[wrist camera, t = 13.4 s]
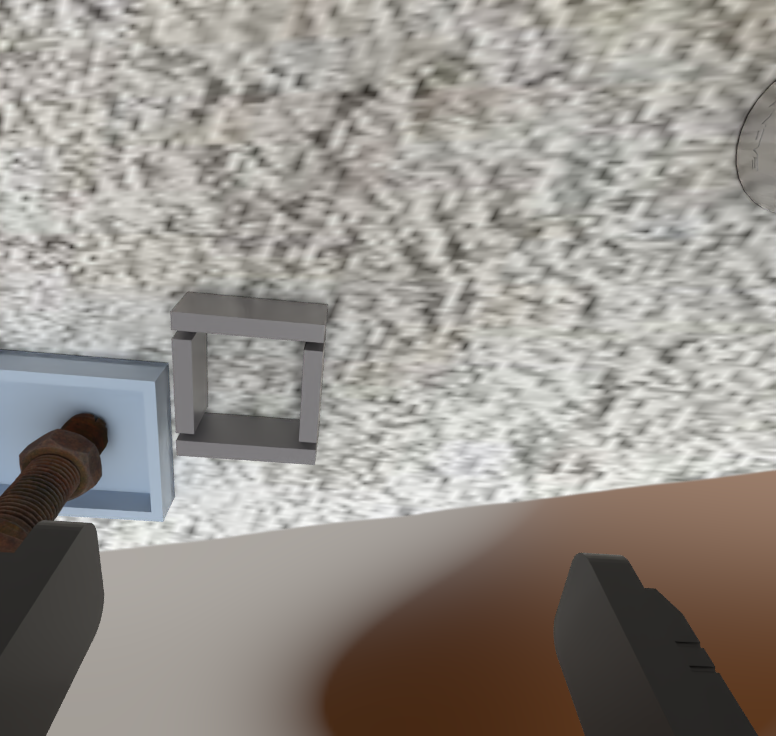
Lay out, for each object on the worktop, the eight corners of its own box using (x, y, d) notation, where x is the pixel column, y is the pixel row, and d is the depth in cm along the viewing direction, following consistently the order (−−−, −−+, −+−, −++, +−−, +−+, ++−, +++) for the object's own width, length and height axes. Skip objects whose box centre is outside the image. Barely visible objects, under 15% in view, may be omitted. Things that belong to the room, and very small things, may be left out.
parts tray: (168, 363, 42) (154, 381, 39) (174, 496, 47) (163, 521, 44) (-35, 346, 41) (-63, 364, 38) (-7, 485, 45) (-31, 510, 43)
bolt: (38, 439, 43) (-109, 599, 29) (60, 385, 41) (-85, 529, 28) (116, 471, 44) (10, 638, 31) (141, 420, 43) (40, 573, 29)
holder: (327, 304, 41) (324, 325, 37) (318, 434, 45) (314, 464, 41) (187, 291, 40) (170, 311, 36) (191, 425, 44) (176, 455, 40)
